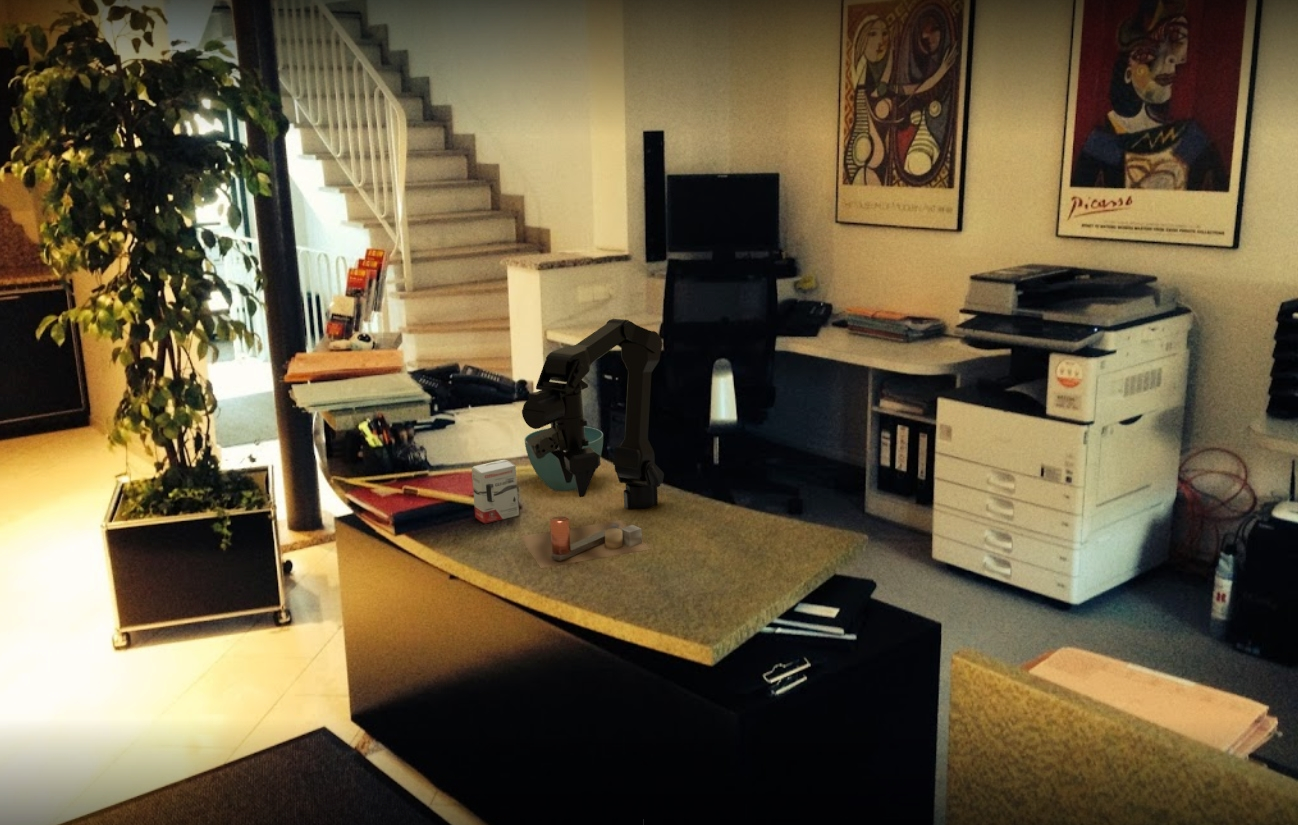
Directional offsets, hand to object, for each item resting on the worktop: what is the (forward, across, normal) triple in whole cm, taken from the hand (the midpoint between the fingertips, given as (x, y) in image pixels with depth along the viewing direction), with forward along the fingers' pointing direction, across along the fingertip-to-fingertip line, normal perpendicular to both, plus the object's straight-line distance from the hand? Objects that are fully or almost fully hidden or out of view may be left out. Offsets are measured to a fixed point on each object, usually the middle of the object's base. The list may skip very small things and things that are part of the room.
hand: (575, 489), depth 223 cm
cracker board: (+11, +4, 0) cm, 12 cm away
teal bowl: (+12, -36, +8) cm, 38 cm away
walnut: (+10, +8, +5) cm, 14 cm away
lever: (+10, +7, -1) cm, 12 cm away
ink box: (+12, -22, -12) cm, 28 cm away
